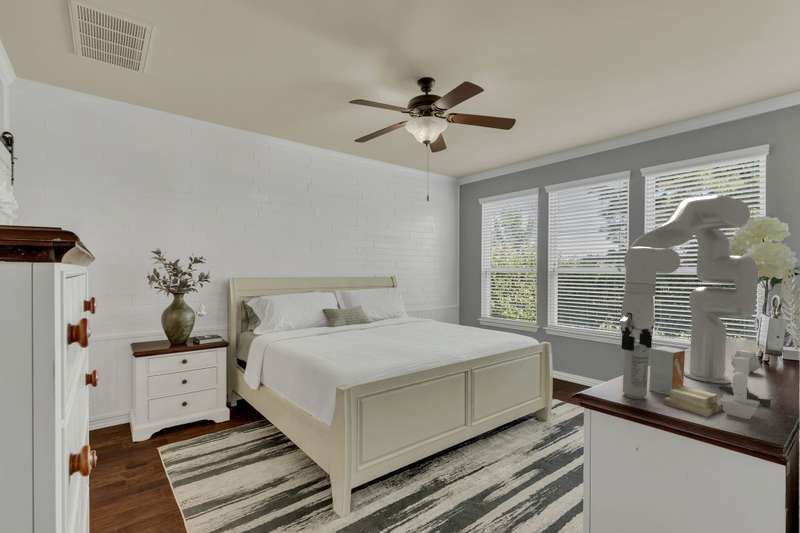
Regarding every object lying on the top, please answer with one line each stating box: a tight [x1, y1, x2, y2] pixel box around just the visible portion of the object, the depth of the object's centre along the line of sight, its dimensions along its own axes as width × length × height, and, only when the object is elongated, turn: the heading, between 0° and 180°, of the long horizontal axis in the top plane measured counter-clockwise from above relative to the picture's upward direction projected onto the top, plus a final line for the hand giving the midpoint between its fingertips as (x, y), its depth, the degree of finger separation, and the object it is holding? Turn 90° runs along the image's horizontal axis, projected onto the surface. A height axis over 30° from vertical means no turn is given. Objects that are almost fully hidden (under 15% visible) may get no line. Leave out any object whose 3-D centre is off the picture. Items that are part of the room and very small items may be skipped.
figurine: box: [719, 357, 760, 420], centre depth 101 cm, size 7×9×15 cm
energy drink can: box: [622, 343, 649, 400], centre depth 113 cm, size 6×6×15 cm
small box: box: [648, 345, 686, 397], centre depth 119 cm, size 8×6×13 cm
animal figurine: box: [718, 384, 772, 408], centre depth 112 cm, size 12×4×5 cm, turn 44°
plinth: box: [663, 385, 724, 417], centre depth 106 cm, size 10×10×4 cm
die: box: [729, 349, 761, 374], centre depth 145 cm, size 8×9×10 cm
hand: (636, 348), depth 113 cm, fingers open, 9 cm apart
